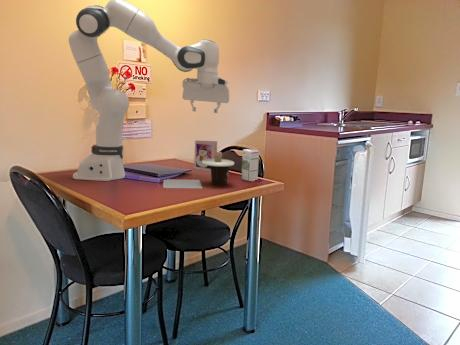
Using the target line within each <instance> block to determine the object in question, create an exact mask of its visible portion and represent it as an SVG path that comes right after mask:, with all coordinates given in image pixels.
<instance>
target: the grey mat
mask: <svg viewBox="0 0 460 345" xmlns="http://www.w3.org/2000/svg"><path fill="white" fill-rule="evenodd" d="M166 179H167V178H166ZM162 183H163V185H162V188H163V189H197V190H198V189H199V190H200V189H203V186H202V183H201V181H200V179H175V178H173V179H171V178H170V179H167V180H164V181H163V182H162Z"/></svg>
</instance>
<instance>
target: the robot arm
mask: <svg viewBox="0 0 460 345" xmlns="http://www.w3.org/2000/svg"><path fill="white" fill-rule="evenodd" d="M75 24H76V27H77V30H75V31H73V32H71V33H70V34H69V37H68V44H69V47H70V51H71V53H72V57H73V59H74V61H75V63H76V66H77V67H78V69H79V72H80V74H81V76H82V78H83V80H84V83H85V86H86V87H85V88H86V90H87V93H88V97H89V102H90V105H91V107H92V108H93V109H94V110H96V111H97V112H98V113H99V117H98V122H97V125H96V126H95V143H96V144H93V145H91V148H90V149H91V153H90V154H89V155H88V156H87V157H85V158H84V159H83V160H81V162H79V165H78V167H77V171H75V172H74V173H73V174H72V178H73V179H74V180H85V181H100V182H101V181H103V182H109V181H113V180H114V181H115V180H121V179H124V178H126V177H125V175H126V172H125V167H124V159H123V158H124V145H123V126H124V121H125V117H126V112H127V111H128V109H129V107H130V99H129V97H128V95H127V94H126V93H125V92H123V91H122V90H120V89H118V88H113V85H112V82H111V78H110V77H111V76H110V68H109V67H108V64H107V62H106V60H105V58H104V56H103V53H102V51H101V48H100V46H99V43H98V38H99V37H101V36H102V35H104V34H105V33H106V32H107V31H108V30H109V29H110V28H116V29H118V30H120V31H121V32H123V33H124V34H126V35H127V36H129V37H130V38H133V40H137V41H138V42H141V43H142V44H143V43H144V44H145V45H148V46H150V47H152V48H154V49H155V50H156V51H158V52H160V53H161V54H162V55H164V56H165V57H167V58H169V59H170V60H171V61H172V63H173V65H174V67H176V69H178V70H179V71H180V72H184V73H187V72H191V71H192V70H197V72H196V78H190V77H187V78H184V79H183V80H182V86H181V87H182V88H183V89H182V96H181V98H182V99H183V101H185V100H186V101H189V102H190V105H191V107H192V109H191V110H192V112H196V110H197V107H195V106H194V103H195V101H196V102H208V103H209V102H211V103H216V107H215V108H213V114H218V110H219V108H220V107H221V105H222V104H228V103H229V102H230V90H229V87H228V84H229V82H228V80H227V79H225V78H222V77H219V76H218V74H219V72H218V67H219V62H220V47H219V45H218V43H216V42H215V41H213V40H210V39H201V40H200V41H198V42H196V43H193V44H190V45H184V46H183V47H181V46H178V45H177V44H176V43H173V41H171V40H170V39H169V38H167V37H165V36H164V35H163V34H162V33H161V32H160V31H159V30H158V27H157V26H156V24H155V21H154V20H153V19H152V17H150V16H149V15H148V14H146V13H145V12H144V11H143V10H142V9H140V8H138V7H137V6H136V5H133V4H132V3H130V2H128V1H126V0H109V1H108V2H107V4H106V5H105V6H104V7H103V6H101V5H96V4H95V5H89V6H86V7H85V8H83V9H81V10H80V11H78V13H77V15H76V18H75Z"/></svg>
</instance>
